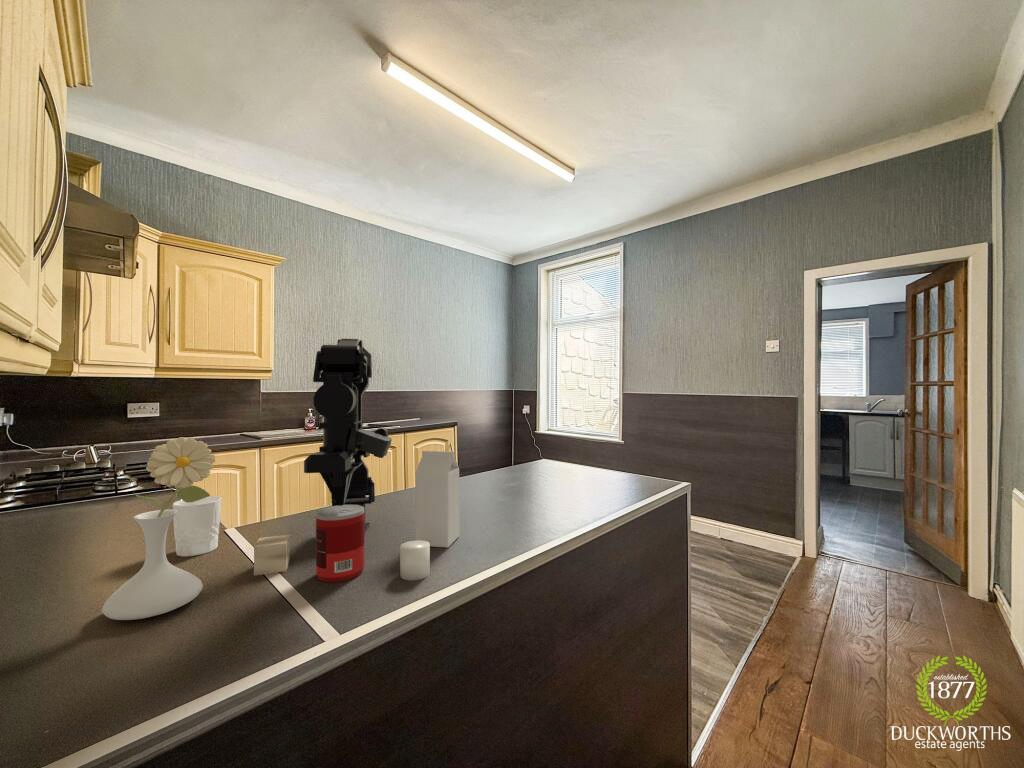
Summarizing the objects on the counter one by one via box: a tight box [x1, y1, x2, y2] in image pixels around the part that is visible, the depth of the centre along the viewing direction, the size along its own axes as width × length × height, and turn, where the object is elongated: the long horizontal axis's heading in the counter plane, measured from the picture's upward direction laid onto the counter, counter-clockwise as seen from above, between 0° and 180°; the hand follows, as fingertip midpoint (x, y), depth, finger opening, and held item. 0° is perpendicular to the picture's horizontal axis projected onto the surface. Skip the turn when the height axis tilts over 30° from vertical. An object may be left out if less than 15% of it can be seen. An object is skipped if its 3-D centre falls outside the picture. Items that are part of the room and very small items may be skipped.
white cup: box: [172, 495, 222, 557], centre depth 86 cm, size 8×8×10 cm
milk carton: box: [415, 450, 460, 548], centre depth 91 cm, size 7×7×19 cm
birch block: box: [253, 534, 291, 577], centre depth 77 cm, size 5×5×5 cm
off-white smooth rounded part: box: [399, 539, 431, 581], centre depth 74 cm, size 5×5×5 cm
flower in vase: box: [101, 436, 216, 621], centre depth 64 cm, size 13×11×25 cm
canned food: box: [315, 505, 366, 583], centre depth 75 cm, size 8×8×11 cm
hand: (340, 505), depth 75 cm, fingers closed
